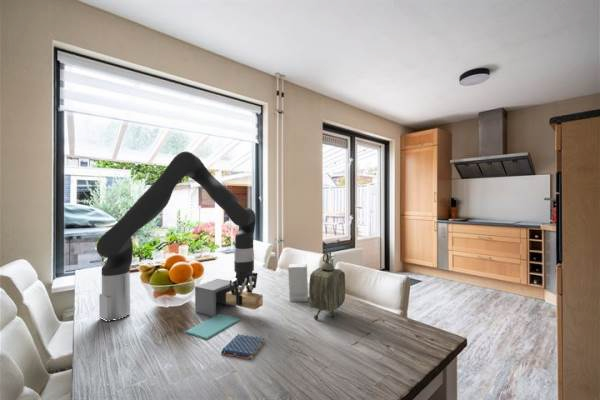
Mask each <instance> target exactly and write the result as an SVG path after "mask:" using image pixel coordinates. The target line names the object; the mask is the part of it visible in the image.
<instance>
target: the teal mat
mask: <svg viewBox="0 0 600 400" xmlns="http://www.w3.org/2000/svg"><path fill="white" fill-rule="evenodd" d="M240 321H241V318H239V317H236V316H235V317H234V316H232V315H227V314H223V313H220V314H219V313H218V314H216V316H212V317H211V318H209V319H207V320H205V321H202V322H201V323H200V324H197V325H196V326H194V327H190V328H189V329H187V330H185V334H188V335H192V336H195V337H196V338H197V337H198V338H200V339H202V340H203V339H204V340H209V339H210V338H212V337H214V336H216V335H217V334H219V333H221V332H222V331H225V330H226V329H228V328H229V327H230V328H231V326H233V325H235V324H236V323H238V322H240Z"/></svg>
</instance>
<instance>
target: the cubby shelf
mask: <svg viewBox="0 0 600 400" xmlns="http://www.w3.org/2000/svg"><path fill="white" fill-rule="evenodd" d="M230 291H231V287H230V280H228V279H227V280H226V279H223V278H222V279H221V278H215V279H213V280H209V281H207V282H205V283H201V284H199V285H195V286H194V303H195V304H194V306H195V308H194V310H195V312H196V313H199V314H204V315H206V316H210V317H215V316H217V307H216V306H217V304H222V305H226V306H231V307H236V305H232V304H227V303H226V293H227V292H230Z"/></svg>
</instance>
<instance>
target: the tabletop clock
mask: <svg viewBox="0 0 600 400" xmlns="http://www.w3.org/2000/svg"><path fill="white" fill-rule="evenodd" d="M327 254H329V258H327V257H326V258H325V256H326V255H327ZM322 255H323V256H322V261H323V262H324V263H322V265H321V267H318V268H316V269H315V270H313V271H312V272H311V273H310V277H309V281H308V283H309V284H308V299H309V305H310V308H312V309H316V310H318V311H317V313H316V314H314V317H313V319H314V320H319V314H320V313H321V312H322V311H326V312H331V317H333V318H335V317H336V313H335V312H334V311H335V310H338V309H339V308H340V307H341V306H342V305H343V304H344V302H345V299H346V274H345V272H344V271H343V270H342V269H339V268H335V267H334V265H333V263H330V261H331V259H332V253H331V251H330V250H326V251H325V252H324V253H323V254H322Z"/></svg>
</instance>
